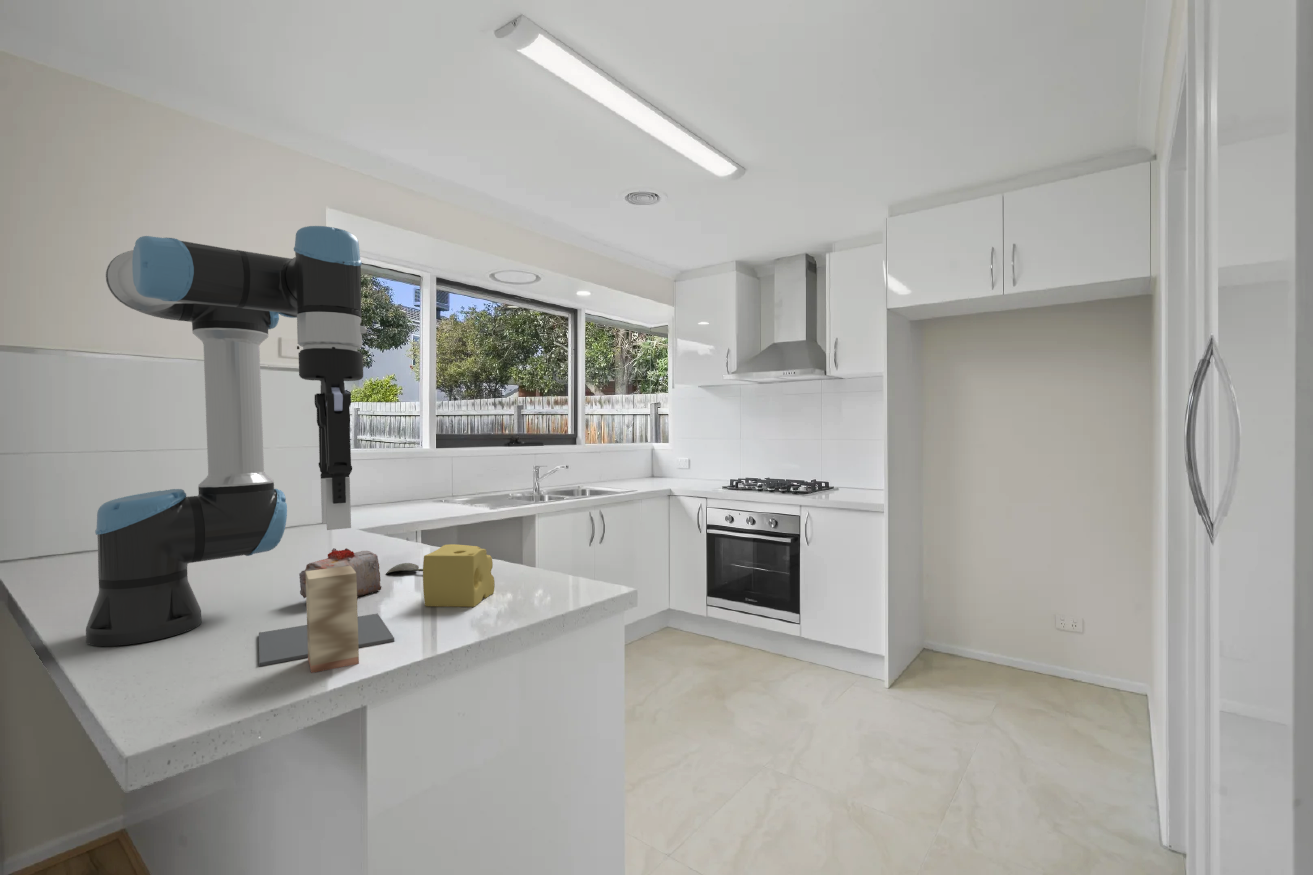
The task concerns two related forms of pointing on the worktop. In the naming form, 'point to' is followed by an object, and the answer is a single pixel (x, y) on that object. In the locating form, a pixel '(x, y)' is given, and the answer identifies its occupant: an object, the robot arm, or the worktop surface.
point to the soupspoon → (405, 567)
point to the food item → (360, 562)
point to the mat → (295, 641)
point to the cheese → (457, 576)
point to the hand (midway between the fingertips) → (336, 525)
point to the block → (332, 618)
